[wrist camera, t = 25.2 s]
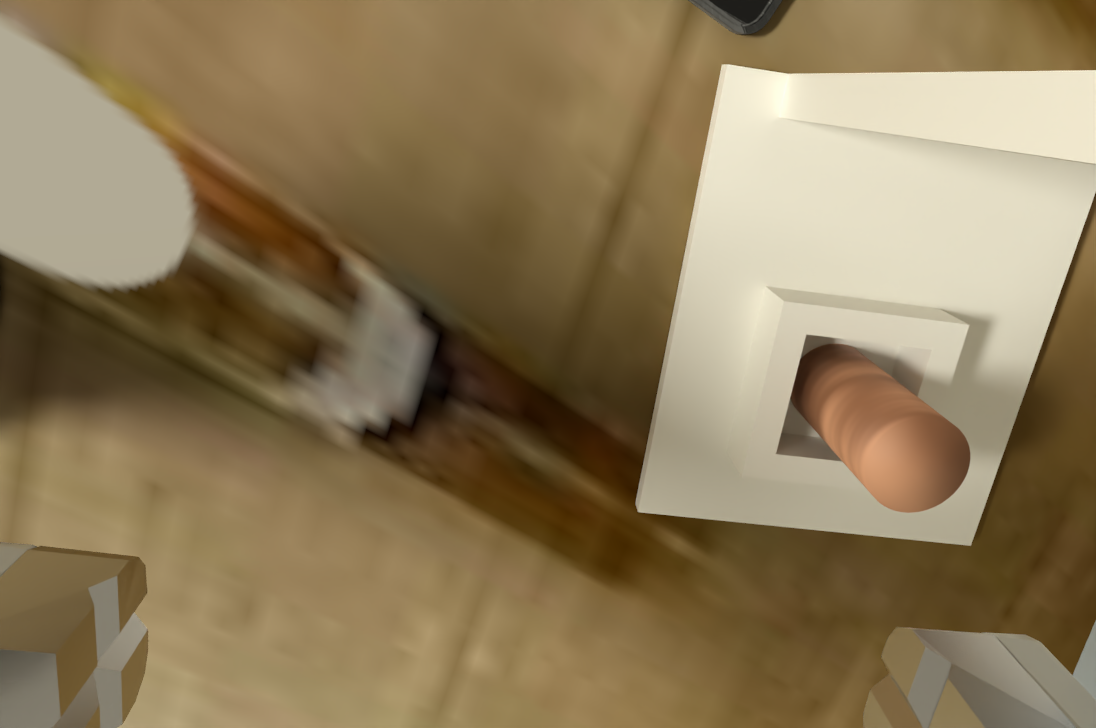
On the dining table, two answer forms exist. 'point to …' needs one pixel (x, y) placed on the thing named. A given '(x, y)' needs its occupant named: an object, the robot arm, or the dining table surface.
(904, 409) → the peg
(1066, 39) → the dining table surface
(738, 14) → the phone
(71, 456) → the dining table surface
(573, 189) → the dining table surface
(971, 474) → the awning socket
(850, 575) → the dining table surface
